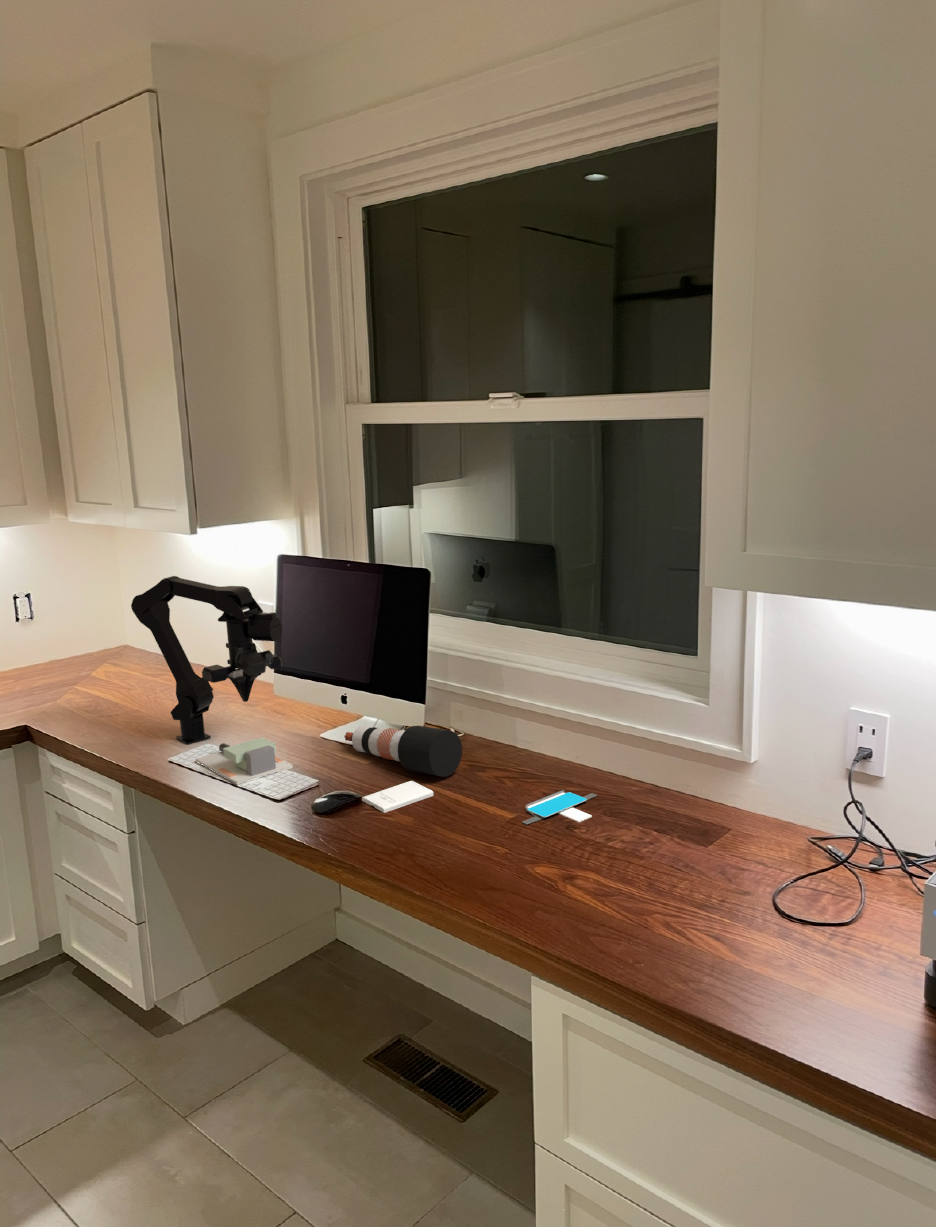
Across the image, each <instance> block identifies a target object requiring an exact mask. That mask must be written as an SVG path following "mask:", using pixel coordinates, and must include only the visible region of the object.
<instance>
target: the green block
mask: <svg viewBox="0 0 936 1227" xmlns="http://www.w3.org/2000/svg"><path fill="white" fill-rule="evenodd" d="M268 745H269V746H271V747H273V748H274V752H275V753H277V748H276V743H275V742H273V741H271V740H268V739H267V738H265V737H263V736H261V737H259V738H255V739H251V740H248V741H243V742H241V743H238V744H234V745H229V746H230V747H226V748H223V754H224V757H225V758H227V759H229V760H231V761H233V762H234V765H236V766H238V767H240V768H242V769H244V770H246V761H245V752H247V751H251V750H254V749H258V748H261V747H264V746H268Z"/></svg>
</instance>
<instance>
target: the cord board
mask: <svg viewBox="0 0 936 1227" xmlns="http://www.w3.org/2000/svg"><path fill="white" fill-rule="evenodd" d="M230 746H231V745H229V744H227V743H225V742H223V743H221V744H219V746H218V750H219V752H216V753H215V752H214V753H213V754H212V753H211V754H208V755H204V756H202V757H198V758H195V762H196V761H197V762H199V763H200V764H203V765H204V766H206V767H208V768H210V769H212V770H213V771H215V772H217V773H218V774H220V775H221V776H220V775H219V776H220V777H222V776H223V777H225V778H226V780H227V779H228V780H227V781H229V780H230V781H232V782H233V783H232V782H231V783H232V784H234V783H235V784H234V785H236V784H240V783H242V782H244V781H247V780H251V779H254V778H257V777H260V776H265V775H268V774H271V773H274V772H278V773H281V772H284V771H287V770H290V769H293V763H289V762H288V761H286V760H284V759H282V758H280V757H277V756H276V755H275V754H276V752H274V748H273V747H271V746H269V745H268V746H264V747H261V748H258V749H254V750H251V751H247V752H245V761H246V770H244V769H242V768H240V767H238V766H236V765H234V762H233V761H231V760H229V759H227V758H225V757H224V754H223V748H226V747H230ZM197 762H196V763H197ZM200 764H199V765H200ZM204 766H203V767H204ZM206 767H205V768H206ZM213 771H212V772H213ZM280 771H281V772H280ZM218 774H217V775H218ZM223 777H222V778H223ZM265 777H266V776H265ZM225 778H224V779H225ZM230 781H229V782H230ZM240 785H241V784H240Z"/></svg>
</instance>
